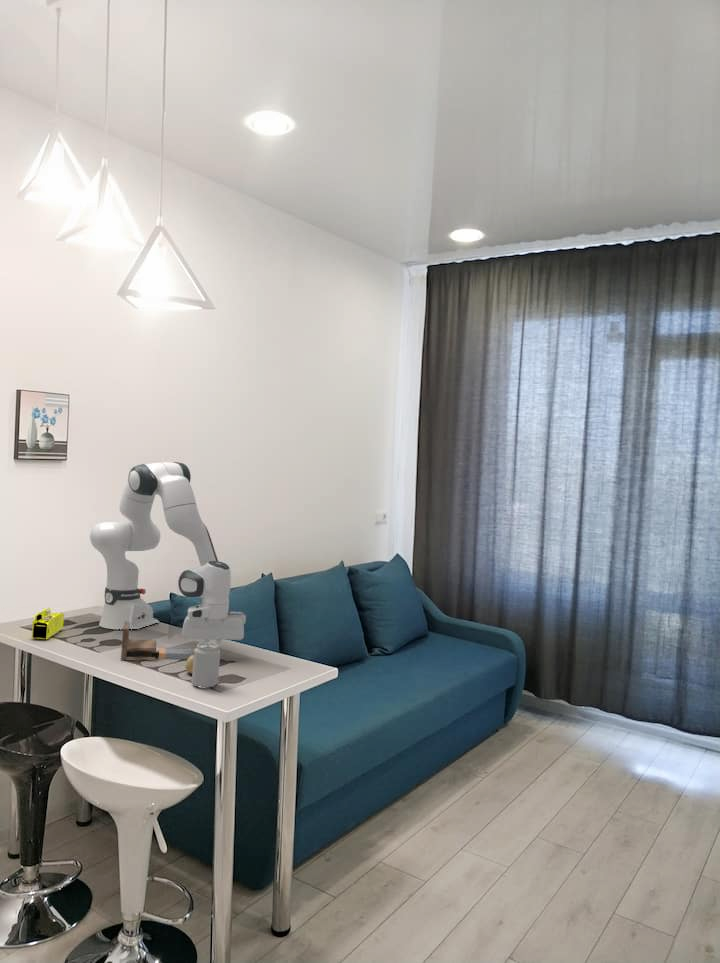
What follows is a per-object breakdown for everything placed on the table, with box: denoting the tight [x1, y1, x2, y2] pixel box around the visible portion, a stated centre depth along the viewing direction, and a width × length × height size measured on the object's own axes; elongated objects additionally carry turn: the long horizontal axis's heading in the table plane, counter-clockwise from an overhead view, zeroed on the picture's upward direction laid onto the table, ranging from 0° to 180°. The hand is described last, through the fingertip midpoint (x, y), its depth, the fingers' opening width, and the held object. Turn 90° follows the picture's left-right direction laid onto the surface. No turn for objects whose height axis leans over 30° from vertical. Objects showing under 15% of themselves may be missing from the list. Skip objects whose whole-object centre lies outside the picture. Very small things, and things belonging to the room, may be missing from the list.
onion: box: [185, 651, 194, 675], centre depth 229 cm, size 8×8×7 cm
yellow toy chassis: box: [31, 607, 65, 641], centre depth 258 cm, size 16×6×8 cm, turn 3°
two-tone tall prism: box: [158, 647, 196, 660], centre depth 245 cm, size 12×6×2 cm, turn 104°
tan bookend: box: [120, 621, 158, 661], centre depth 242 cm, size 10×10×10 cm
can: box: [191, 642, 221, 687], centre depth 218 cm, size 8×8×12 cm
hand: (211, 652), depth 248 cm, fingers closed
